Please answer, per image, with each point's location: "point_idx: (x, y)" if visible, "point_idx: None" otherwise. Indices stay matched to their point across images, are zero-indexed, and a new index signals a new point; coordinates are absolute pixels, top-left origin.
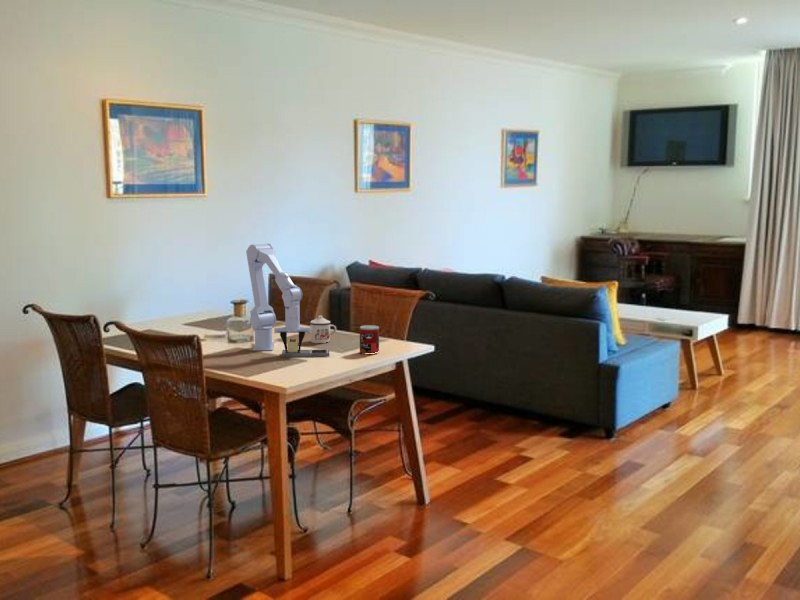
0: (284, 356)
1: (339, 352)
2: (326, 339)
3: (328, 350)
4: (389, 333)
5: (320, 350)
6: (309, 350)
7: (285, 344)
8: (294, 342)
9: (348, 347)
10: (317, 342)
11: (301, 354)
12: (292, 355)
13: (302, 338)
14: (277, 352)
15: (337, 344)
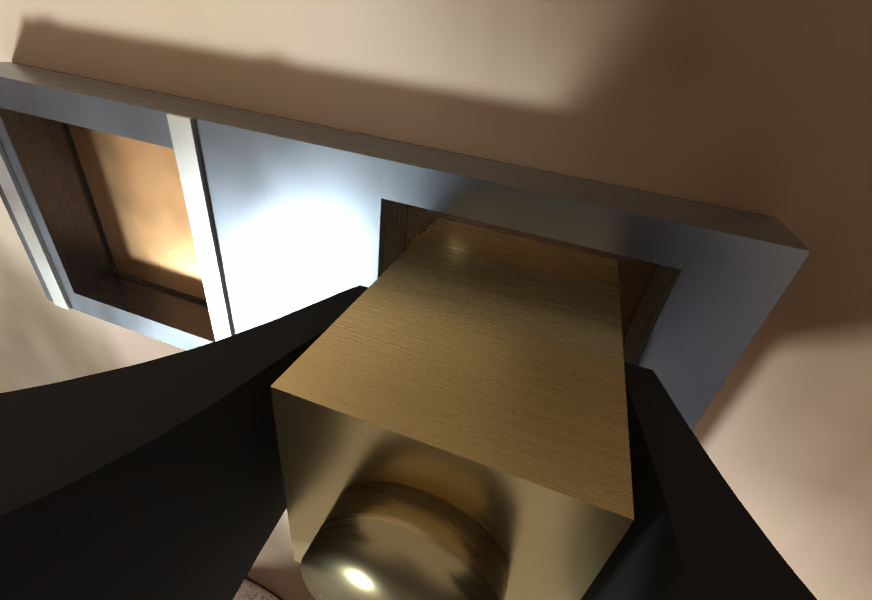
0: (715, 211)
1: (23, 276)
2: None
3: (30, 247)
4: None
5: (132, 306)
6: (243, 329)
7: (688, 479)
8: (378, 406)
9: None
10: (260, 597)
11: (354, 145)
12: (536, 177)
13: (2, 403)
14: None
15: None
